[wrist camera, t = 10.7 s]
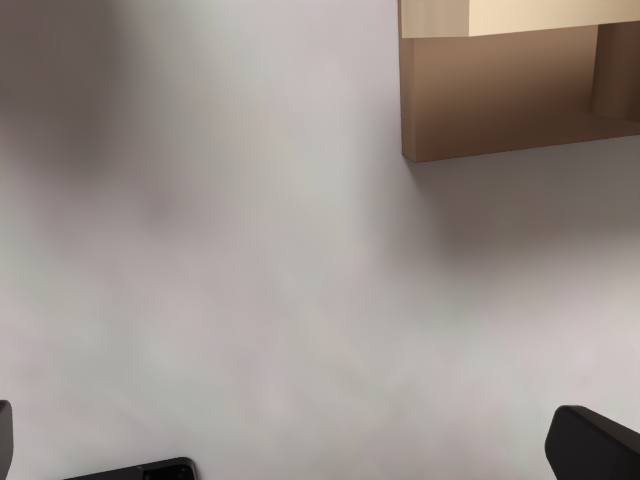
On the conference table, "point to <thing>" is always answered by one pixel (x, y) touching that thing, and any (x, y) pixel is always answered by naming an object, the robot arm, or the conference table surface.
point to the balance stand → (518, 89)
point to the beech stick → (508, 15)
